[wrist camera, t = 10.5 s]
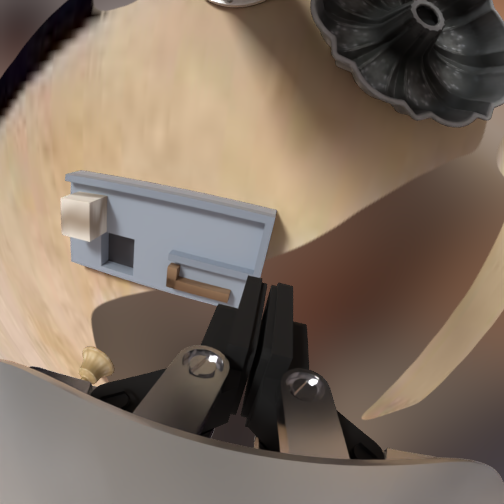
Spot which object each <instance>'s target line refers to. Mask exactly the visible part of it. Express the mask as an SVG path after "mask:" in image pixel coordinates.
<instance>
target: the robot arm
mask: <svg viewBox="0 0 504 504" xmlns="http://www.w3.org/2000/svg"><path fill="white" fill-rule="evenodd" d="M208 1H210V2H212V3H214V4H216V5H220V6H224V7H246V6H252V5H255V4H259V3H261V2H263V1H266V0H208ZM230 2H231V3H230ZM266 289H267V284H266V283H262V278H258V277H254V276H250V275H248V277H247V280H246V284H245V287H244V290H243V294H242V297H241V300H240V303H239V307H238V308H235V307H231V306H227V305H223V304H218V305H217V308H216V310H215V313H214V315H213V317H212V320H211V322H210V324H209V327H208V329H207V332H206V334H205V336H204V339H203V341H202V344H201V345H195V346H190V347H187V348H185V349H183V350H182V351H181V352H180V353H179V354H178V355H177V357H176V358H175V359H174V360H173V361H172V363H171V364H170V365H169V367H168V368H166V369H162V370H158V371H155V372H151V373H147V374H143V375H139V376H135V377H130V378H126V379H122V380H118V381H113V382H109V383H105V384H102V385H100V386H98V387H95V386H92V384H91V382H89V381H85V380H81V379H77V378H74V377H70V376H66V375H63V374H59V373H56V372H52V371H49V370H46V369H43V368H40V367H33V366H32V367H27V366H24V365H21V364H18V363H15V362H13V361H8V360H3V359H0V504H504V483H503V481H502V479H501V477H500V475H499V474H498V472H496V470H494V468H492V467H490V466H488V465H486V464H484V463H480V462H477V461H473V460H467V459H459V458H436V457H434V456H428V455H422V454H416V453H410V452H405V451H400V450H395V449H390V448H387V449H386V450H385V451H383V450H382V449H381V448H380V447H379V446H378V445H377V443H375V442H374V441H373V440H372V439H371V438H369V437H368V436H367V435H366V434H364V433H363V432H362V431H361V430H360V429H358V428H357V427H356V426H355V425H354V424H352V423H351V422H350V421H349V420H347V419H346V418H345V417H344V416H343V415H341V414H340V413H339V412H338V411H337V410H336V407H335V404H334V400H333V397H332V393H331V390H330V387H329V385H328V383H327V381H326V380H325V379H324V378H323V377H322V376H321V375H319V374H318V373H316V372H314V371H311V370H309V358H308V338H307V325H306V324H302V323H298V322H293V286H290V285H286V284H282V283H278V284H277V286H274V285H272V286H271V289H270V292H269V296H268V300H267V303H266V306H265V310H264V313H263V307H264V301H265V295H266ZM262 313H263V317H262ZM261 319H262V320H261ZM247 379H248V380H247ZM246 382H247V386H246V391H245V396H244V401H243V407H242V411H241V416H242V417H247V418H246V423H245V426H246V427H249V428H250V430H251V431H252V432H253V433H254V434H255V435H256V436H255V440H254V448H250V447H245V446H241V445H236V444H231V443H227V442H223V441H218V440H214V439H211V436H212V434H213V432H214V428H216V427H218V426H220V425H223V424H225V423H227V422H228V420H229V416H230V414H233V415H236V413H237V410H238V407H239V403H240V400H241V397H242V394H243V391H244V388H245V385H246Z"/></svg>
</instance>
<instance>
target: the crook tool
mask: <svg viewBox="0 0 504 504" xmlns="http://www.w3.org/2000/svg"><path fill="white" fill-rule="evenodd" d="M179 273H180V265H179V264H175V263H170V264H169V266H168V268H167V279H166V287H169V288H173V289H176V290H180V291H183V292H187V293H191V294H194V295H198V296H202V297H205V298H209V299H213V300H217V301H220V302H224V303H227V302H228V300H229V296H230V291H231V290H230V289H226V288H222V287H218V286H214V285H210V284H206V283H203V282H199V281H195V280H191V279H188V278H184V277H180V276H179Z"/></svg>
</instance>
